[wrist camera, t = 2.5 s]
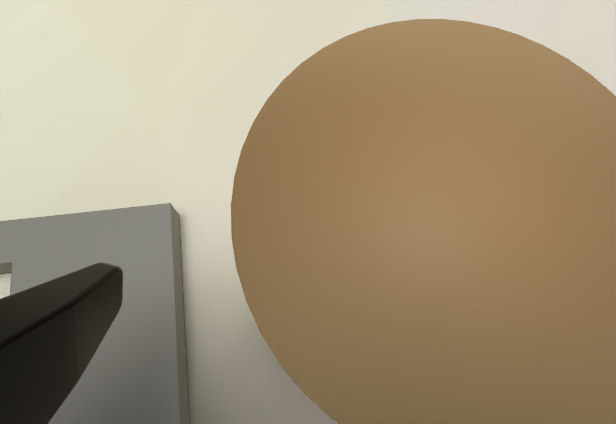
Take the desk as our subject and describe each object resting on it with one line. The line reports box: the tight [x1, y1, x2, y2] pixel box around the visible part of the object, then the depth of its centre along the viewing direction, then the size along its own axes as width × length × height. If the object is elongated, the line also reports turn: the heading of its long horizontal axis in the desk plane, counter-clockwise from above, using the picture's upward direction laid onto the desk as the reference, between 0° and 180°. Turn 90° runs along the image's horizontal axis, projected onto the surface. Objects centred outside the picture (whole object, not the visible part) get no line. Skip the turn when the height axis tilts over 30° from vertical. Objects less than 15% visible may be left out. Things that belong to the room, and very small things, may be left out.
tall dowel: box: [231, 19, 616, 424], centre depth 10 cm, size 4×4×14 cm
